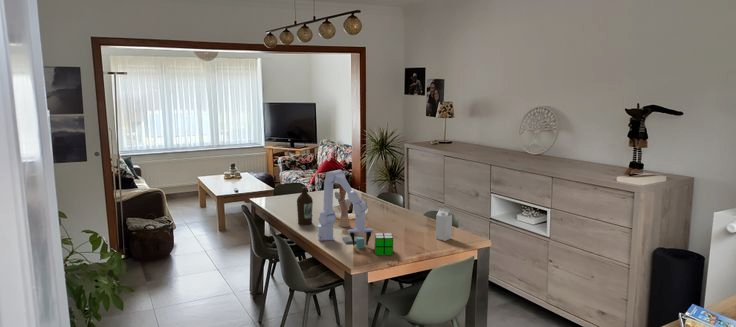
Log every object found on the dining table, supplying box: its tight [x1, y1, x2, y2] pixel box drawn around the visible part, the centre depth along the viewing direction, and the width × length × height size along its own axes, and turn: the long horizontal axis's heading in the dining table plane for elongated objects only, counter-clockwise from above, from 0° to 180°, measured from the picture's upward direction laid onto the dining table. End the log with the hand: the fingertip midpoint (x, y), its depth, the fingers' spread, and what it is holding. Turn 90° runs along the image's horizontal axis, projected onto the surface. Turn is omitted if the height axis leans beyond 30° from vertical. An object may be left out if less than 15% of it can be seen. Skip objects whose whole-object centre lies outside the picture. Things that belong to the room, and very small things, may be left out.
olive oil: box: [296, 186, 314, 226], centre depth 356 cm, size 11×11×25 cm
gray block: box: [341, 235, 358, 245], centre depth 318 cm, size 9×9×2 cm
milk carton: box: [435, 207, 453, 242], centre depth 322 cm, size 7×7×19 cm
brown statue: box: [334, 184, 352, 228], centre depth 350 cm, size 11×7×30 cm
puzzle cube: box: [374, 232, 394, 256], centre depth 297 cm, size 10×10×10 cm
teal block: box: [356, 236, 365, 249], centre depth 307 cm, size 4×4×6 cm
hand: (360, 244), depth 307 cm, fingers open, 7 cm apart
